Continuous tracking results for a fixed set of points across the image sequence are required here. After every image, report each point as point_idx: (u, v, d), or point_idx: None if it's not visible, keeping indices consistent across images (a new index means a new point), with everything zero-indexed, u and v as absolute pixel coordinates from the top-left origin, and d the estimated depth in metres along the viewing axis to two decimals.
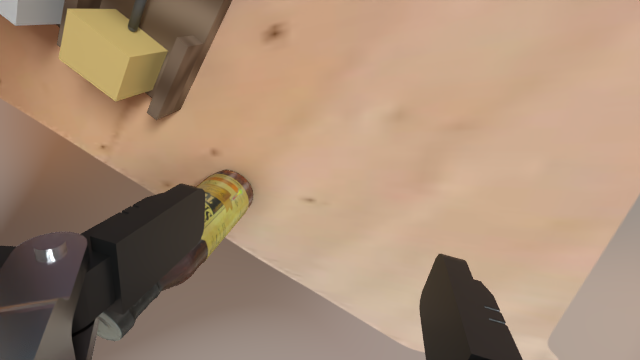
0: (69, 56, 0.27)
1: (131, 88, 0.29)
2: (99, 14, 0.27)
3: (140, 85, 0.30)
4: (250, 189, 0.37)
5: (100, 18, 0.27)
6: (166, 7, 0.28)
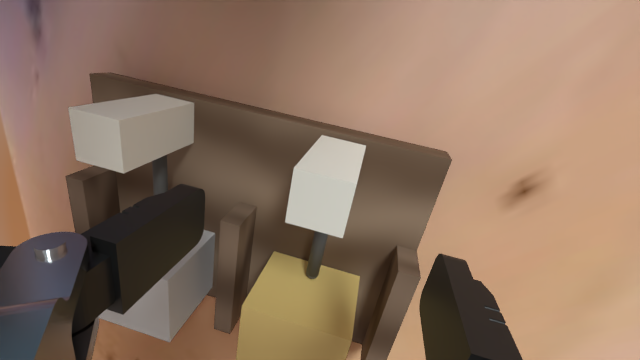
0: None
1: None
2: (270, 280, 0.18)
3: None
4: None
5: (276, 287, 0.18)
6: (347, 224, 0.19)
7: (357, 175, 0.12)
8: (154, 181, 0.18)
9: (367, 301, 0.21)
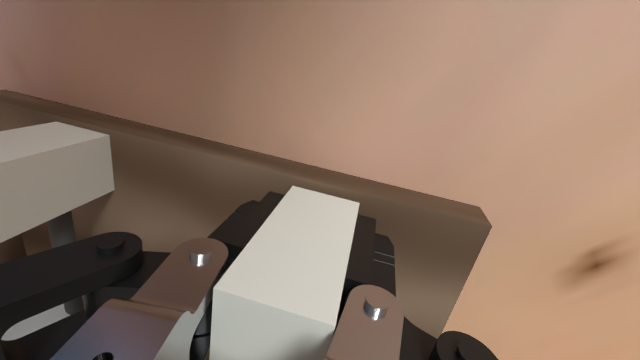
0: None
1: None
2: None
3: None
4: None
5: None
6: None
7: (339, 292, 0.06)
8: None
9: None
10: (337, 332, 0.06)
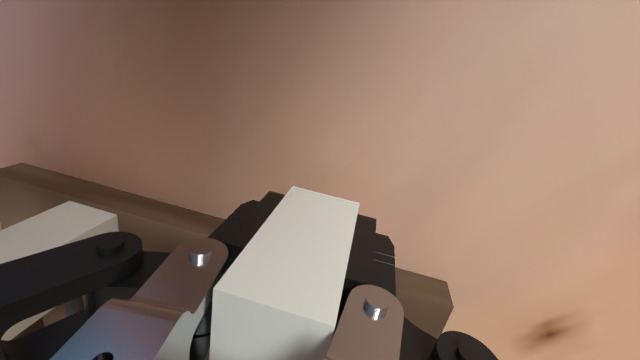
0: None
1: None
2: None
3: None
4: None
5: None
6: None
7: (339, 293, 0.06)
8: (67, 314, 0.14)
9: None
10: (337, 332, 0.06)
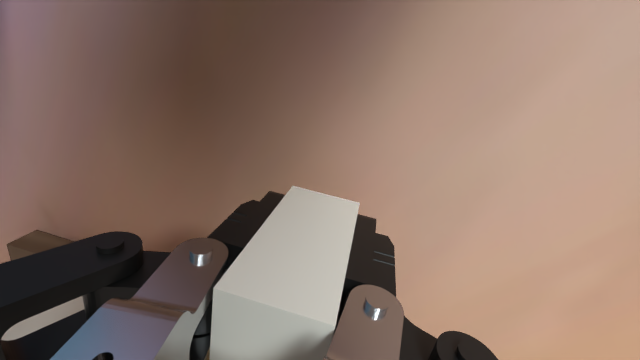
0: None
1: None
2: None
3: None
4: None
5: None
6: None
7: (339, 292, 0.06)
8: None
9: None
10: (337, 332, 0.06)
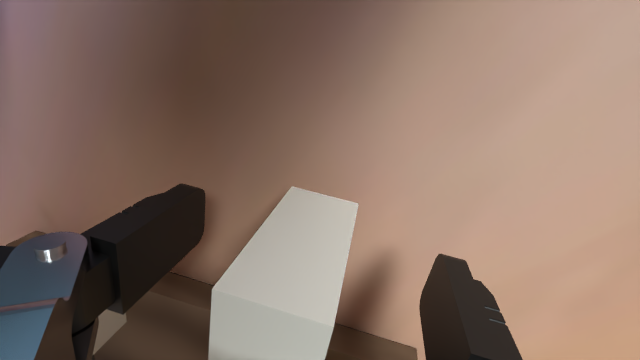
0: None
1: None
2: None
3: None
4: None
5: None
6: None
7: (337, 293, 0.06)
8: None
9: None
10: None
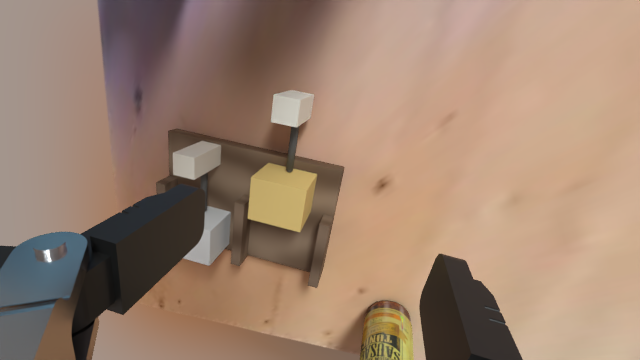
0: (256, 212, 0.32)
1: (305, 216, 0.33)
2: (266, 171, 0.33)
3: (307, 211, 0.34)
4: (406, 311, 0.40)
5: (269, 173, 0.33)
6: None
7: (302, 98, 0.27)
8: (201, 184, 0.36)
9: (312, 246, 0.39)
10: None
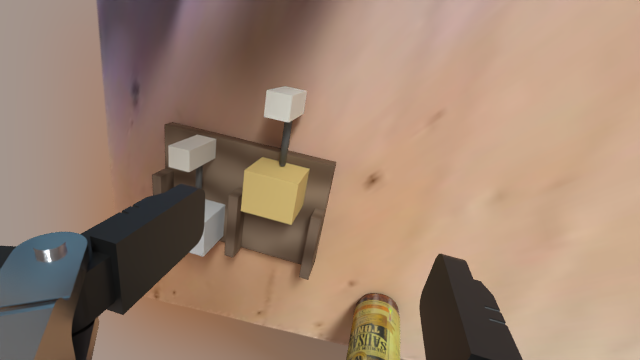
0: (249, 205, 0.33)
1: (296, 209, 0.34)
2: (259, 165, 0.34)
3: (299, 205, 0.35)
4: (394, 303, 0.41)
5: (262, 167, 0.34)
6: None
7: (294, 94, 0.28)
8: (196, 177, 0.37)
9: (304, 239, 0.40)
10: None
